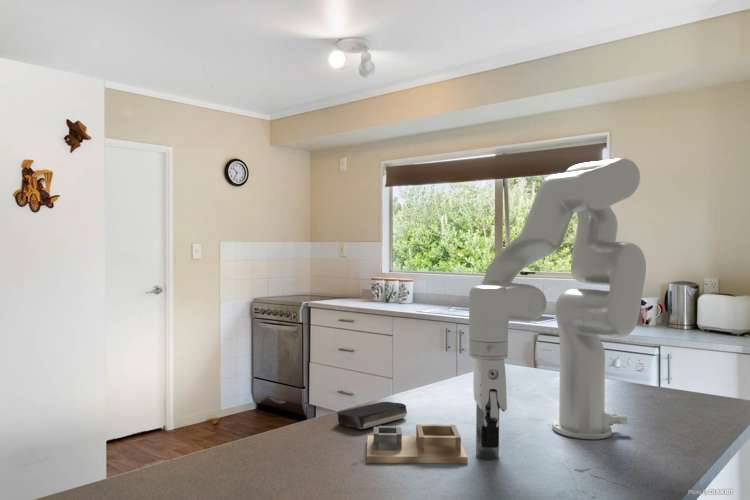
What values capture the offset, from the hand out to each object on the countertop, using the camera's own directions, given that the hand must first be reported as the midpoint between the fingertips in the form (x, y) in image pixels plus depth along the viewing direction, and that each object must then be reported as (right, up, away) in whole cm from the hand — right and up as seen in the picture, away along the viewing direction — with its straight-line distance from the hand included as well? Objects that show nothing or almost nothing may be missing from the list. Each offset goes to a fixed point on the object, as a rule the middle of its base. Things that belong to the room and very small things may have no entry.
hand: (487, 441), depth 112 cm
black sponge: (-22, -3, +22) cm, 31 cm away
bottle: (0, -3, 0) cm, 3 cm away
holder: (-14, -3, +2) cm, 14 cm away
